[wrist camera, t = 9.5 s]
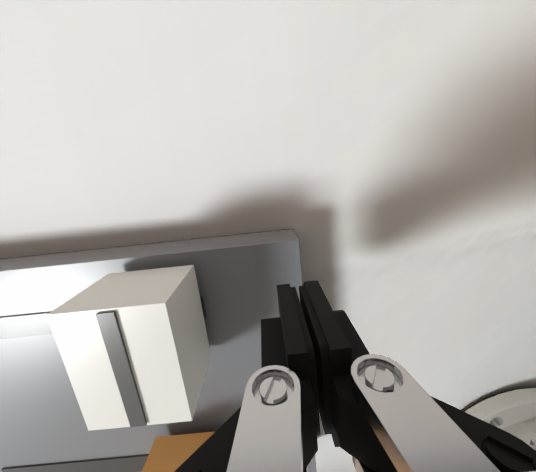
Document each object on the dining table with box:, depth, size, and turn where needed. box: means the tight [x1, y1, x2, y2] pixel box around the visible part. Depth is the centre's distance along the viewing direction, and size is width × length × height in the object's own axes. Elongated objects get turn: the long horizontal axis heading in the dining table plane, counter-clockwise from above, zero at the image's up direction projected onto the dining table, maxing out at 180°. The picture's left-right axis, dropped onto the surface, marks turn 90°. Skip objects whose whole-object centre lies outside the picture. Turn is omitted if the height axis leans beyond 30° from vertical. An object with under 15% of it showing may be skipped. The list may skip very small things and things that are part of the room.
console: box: [0, 229, 316, 472], centre depth 15 cm, size 22×16×3 cm
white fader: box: [46, 265, 211, 431], centre depth 11 cm, size 4×5×4 cm
